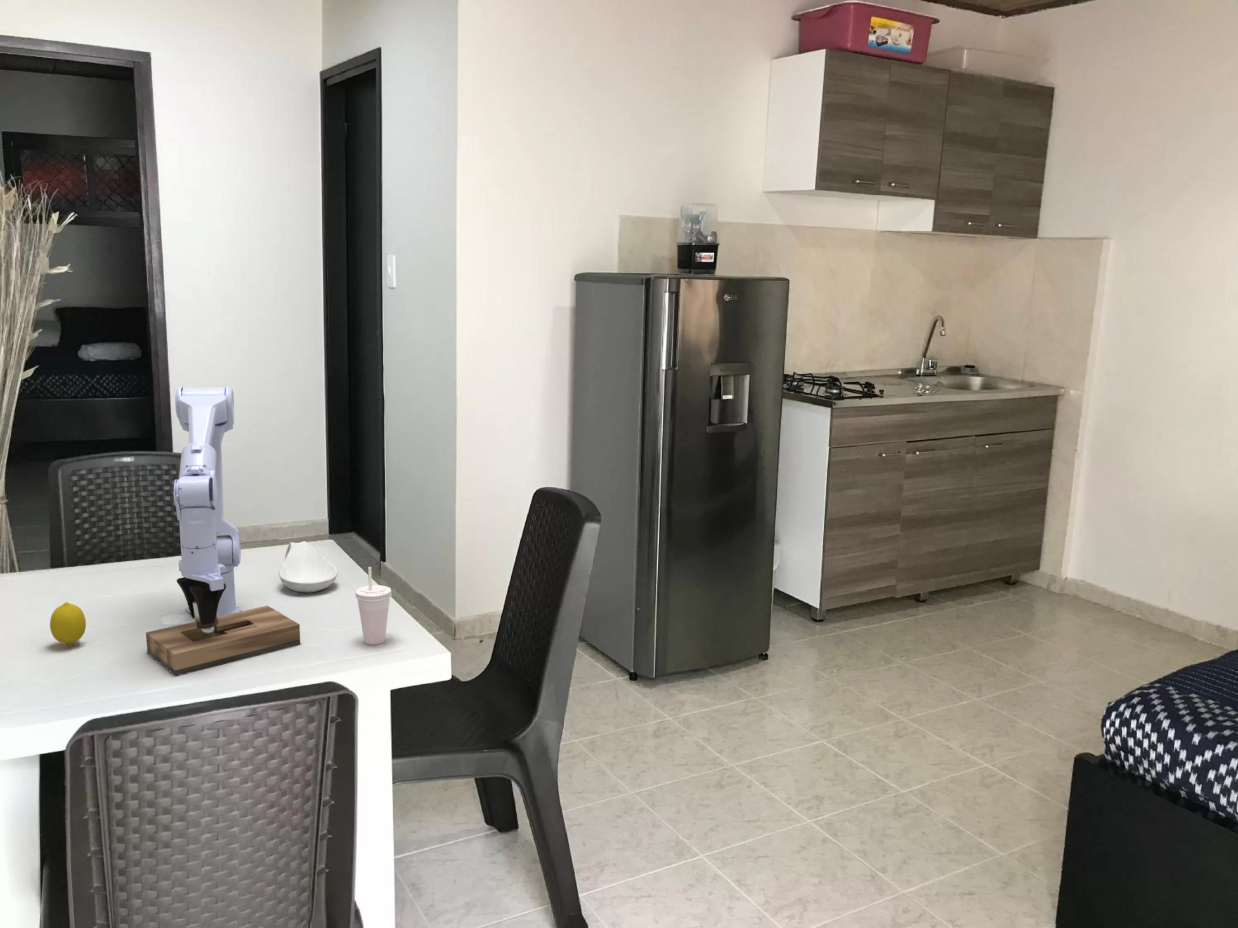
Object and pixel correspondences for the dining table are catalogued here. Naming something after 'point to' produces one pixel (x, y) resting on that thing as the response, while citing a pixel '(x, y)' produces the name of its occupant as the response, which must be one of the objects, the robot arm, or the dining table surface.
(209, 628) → the peg
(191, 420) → the robot arm
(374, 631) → the smoothie
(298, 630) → the keyhole board
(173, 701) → the dining table surface
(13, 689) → the dining table surface
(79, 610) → the lemon
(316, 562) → the spoon rest
